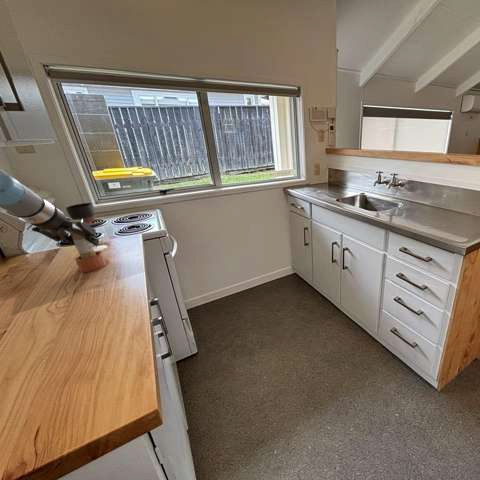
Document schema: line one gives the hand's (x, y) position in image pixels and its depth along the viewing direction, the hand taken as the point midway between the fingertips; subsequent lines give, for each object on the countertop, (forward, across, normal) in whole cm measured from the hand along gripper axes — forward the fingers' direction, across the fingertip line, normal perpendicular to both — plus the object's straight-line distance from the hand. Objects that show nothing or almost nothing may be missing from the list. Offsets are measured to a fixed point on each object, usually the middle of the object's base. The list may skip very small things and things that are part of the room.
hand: (89, 243), depth 98 cm
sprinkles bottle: (+1, 0, -6) cm, 6 cm away
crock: (+3, 0, -8) cm, 9 cm away
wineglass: (+19, -8, +7) cm, 21 cm away
